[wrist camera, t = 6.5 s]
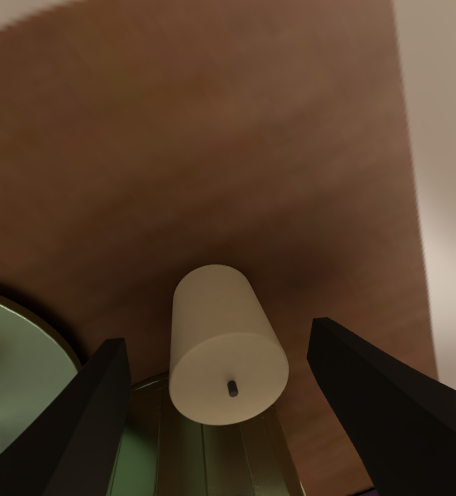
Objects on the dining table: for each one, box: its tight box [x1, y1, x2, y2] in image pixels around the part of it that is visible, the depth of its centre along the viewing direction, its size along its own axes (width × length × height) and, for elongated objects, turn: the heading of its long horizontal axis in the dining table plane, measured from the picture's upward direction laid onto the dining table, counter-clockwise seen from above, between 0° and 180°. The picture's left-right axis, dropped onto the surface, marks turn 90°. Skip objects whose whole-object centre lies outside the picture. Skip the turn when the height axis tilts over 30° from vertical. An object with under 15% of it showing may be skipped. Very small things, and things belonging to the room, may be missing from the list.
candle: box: [169, 264, 289, 425], centre depth 10 cm, size 4×4×5 cm
